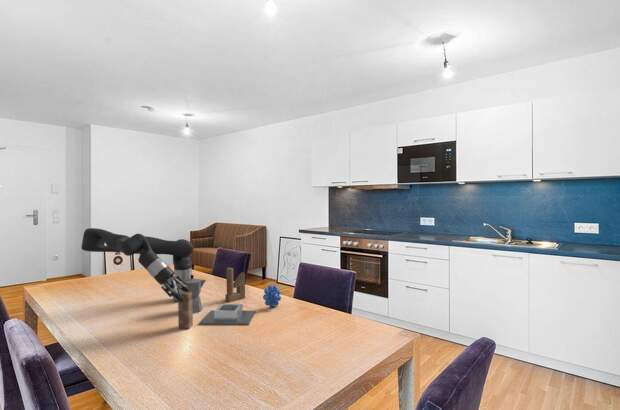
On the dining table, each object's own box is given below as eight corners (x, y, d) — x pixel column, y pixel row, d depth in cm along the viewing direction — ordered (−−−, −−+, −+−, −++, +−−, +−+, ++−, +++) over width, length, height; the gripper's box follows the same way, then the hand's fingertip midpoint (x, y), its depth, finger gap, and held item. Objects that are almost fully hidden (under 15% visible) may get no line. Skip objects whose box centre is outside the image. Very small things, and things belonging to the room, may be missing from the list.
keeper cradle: (199, 324, 151) (199, 313, 151) (210, 312, 167) (210, 302, 167) (248, 324, 151) (248, 313, 151) (255, 312, 167) (255, 302, 167)
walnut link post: (178, 329, 146) (178, 294, 146) (182, 325, 151) (182, 291, 150) (188, 329, 146) (188, 294, 146) (192, 325, 151) (192, 291, 150)
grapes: (269, 312, 167) (269, 288, 167) (260, 309, 172) (260, 285, 171) (286, 306, 176) (286, 283, 175) (277, 303, 180) (277, 281, 180)
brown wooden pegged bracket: (245, 298, 191) (245, 266, 190) (229, 302, 183) (228, 269, 183) (241, 296, 193) (241, 265, 193) (225, 301, 185) (224, 268, 185)
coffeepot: (205, 306, 177) (205, 271, 176) (206, 312, 168) (206, 275, 167) (173, 309, 171) (173, 274, 171) (173, 316, 163) (172, 278, 162)
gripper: (162, 273, 155) (187, 299, 155) (146, 281, 141) (173, 309, 141) (173, 262, 155) (198, 287, 155) (158, 268, 140) (186, 296, 140)
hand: (186, 297), depth 148 cm, fingers open, 8 cm apart
